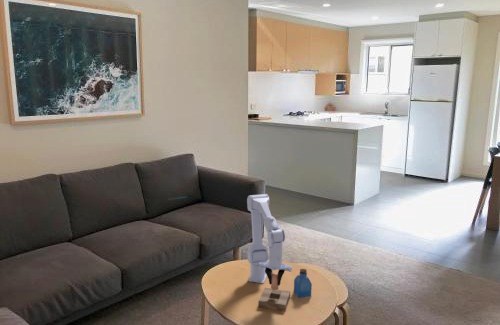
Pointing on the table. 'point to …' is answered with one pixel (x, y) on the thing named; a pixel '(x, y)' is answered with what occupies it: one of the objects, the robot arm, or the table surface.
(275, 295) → the socket
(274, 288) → the peg
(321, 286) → the table surface
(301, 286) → the perfume bottle
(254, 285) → the table surface
